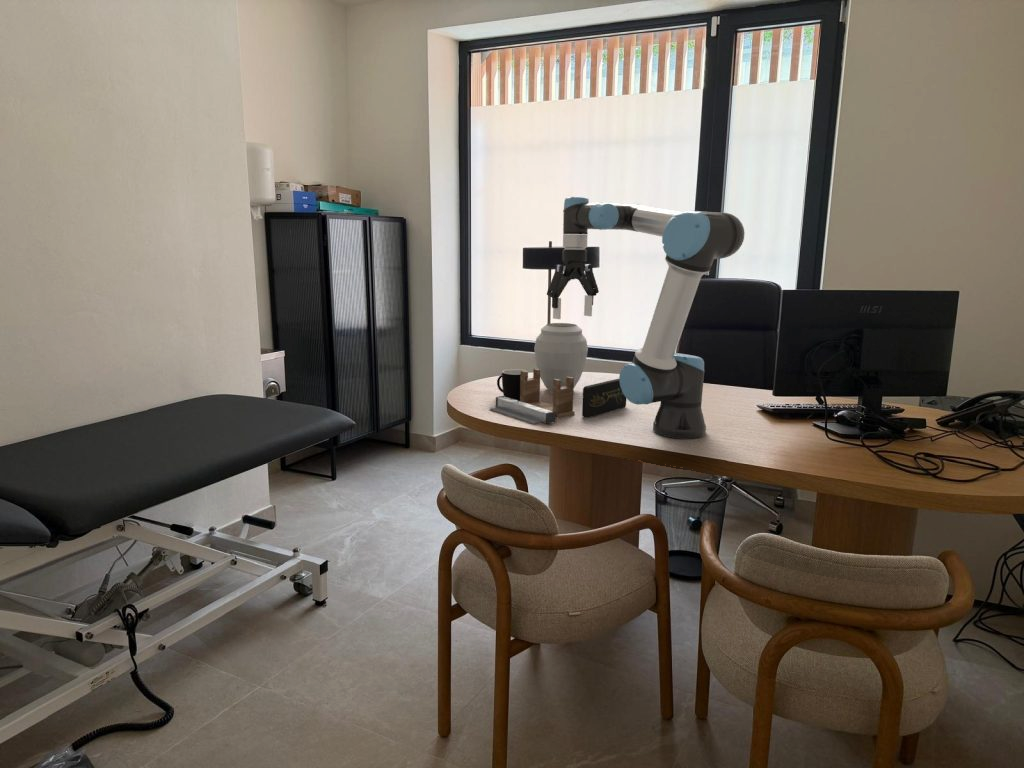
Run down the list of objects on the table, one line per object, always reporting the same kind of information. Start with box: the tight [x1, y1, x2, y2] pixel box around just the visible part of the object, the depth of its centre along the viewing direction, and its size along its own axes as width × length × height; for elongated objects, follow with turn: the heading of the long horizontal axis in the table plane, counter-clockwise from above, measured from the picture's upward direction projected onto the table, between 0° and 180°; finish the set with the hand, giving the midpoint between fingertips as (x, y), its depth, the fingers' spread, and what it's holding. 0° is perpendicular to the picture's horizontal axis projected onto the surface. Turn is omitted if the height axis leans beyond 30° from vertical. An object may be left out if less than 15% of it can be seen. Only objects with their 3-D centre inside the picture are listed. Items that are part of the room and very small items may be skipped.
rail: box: [495, 395, 556, 424], centre depth 219 cm, size 25×3×3 cm, turn 39°
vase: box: [533, 322, 589, 393], centre depth 252 cm, size 20×20×24 cm
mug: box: [496, 368, 529, 401], centre depth 239 cm, size 12×9×10 cm
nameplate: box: [581, 378, 627, 419], centre depth 224 cm, size 21×2×10 cm, turn 135°
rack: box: [520, 368, 575, 419], centre depth 225 cm, size 20×7×12 cm, turn 39°
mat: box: [489, 406, 557, 426], centre depth 220 cm, size 22×9×1 cm, turn 39°
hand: (572, 317), depth 218 cm, fingers open, 13 cm apart
